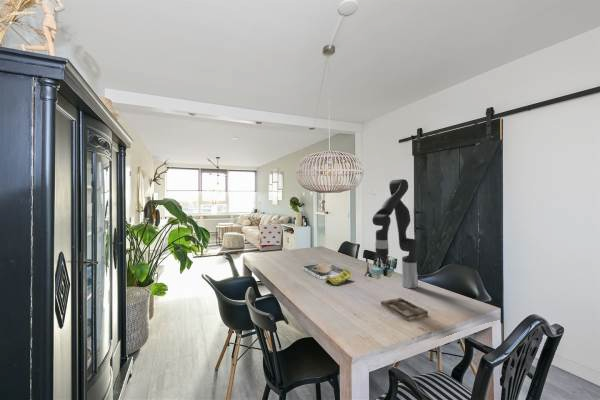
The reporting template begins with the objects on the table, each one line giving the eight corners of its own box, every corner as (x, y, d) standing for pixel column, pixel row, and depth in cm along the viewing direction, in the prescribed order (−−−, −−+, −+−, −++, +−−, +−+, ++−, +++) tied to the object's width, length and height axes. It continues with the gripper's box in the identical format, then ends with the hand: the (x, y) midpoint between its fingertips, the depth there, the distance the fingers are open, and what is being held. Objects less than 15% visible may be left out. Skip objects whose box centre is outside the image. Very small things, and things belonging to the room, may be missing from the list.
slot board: (400, 301, 158) (400, 297, 158) (427, 315, 139) (427, 311, 139) (381, 305, 153) (381, 301, 153) (406, 320, 134) (406, 315, 134)
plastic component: (335, 282, 187) (326, 274, 194) (333, 290, 190) (324, 281, 197) (354, 275, 200) (344, 267, 206) (351, 283, 203) (342, 274, 209)
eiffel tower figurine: (380, 278, 206) (379, 260, 206) (369, 279, 203) (368, 262, 203) (368, 273, 220) (368, 257, 220) (357, 274, 217) (357, 258, 217)
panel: (388, 274, 167) (388, 265, 167) (393, 276, 163) (393, 267, 163) (370, 277, 163) (370, 268, 163) (375, 279, 158) (375, 270, 158)
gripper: (394, 248, 157) (395, 277, 157) (379, 244, 170) (380, 271, 171) (384, 249, 154) (384, 278, 155) (369, 245, 168) (370, 272, 168)
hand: (382, 274), depth 163 cm, fingers closed on panel, 5 cm apart
